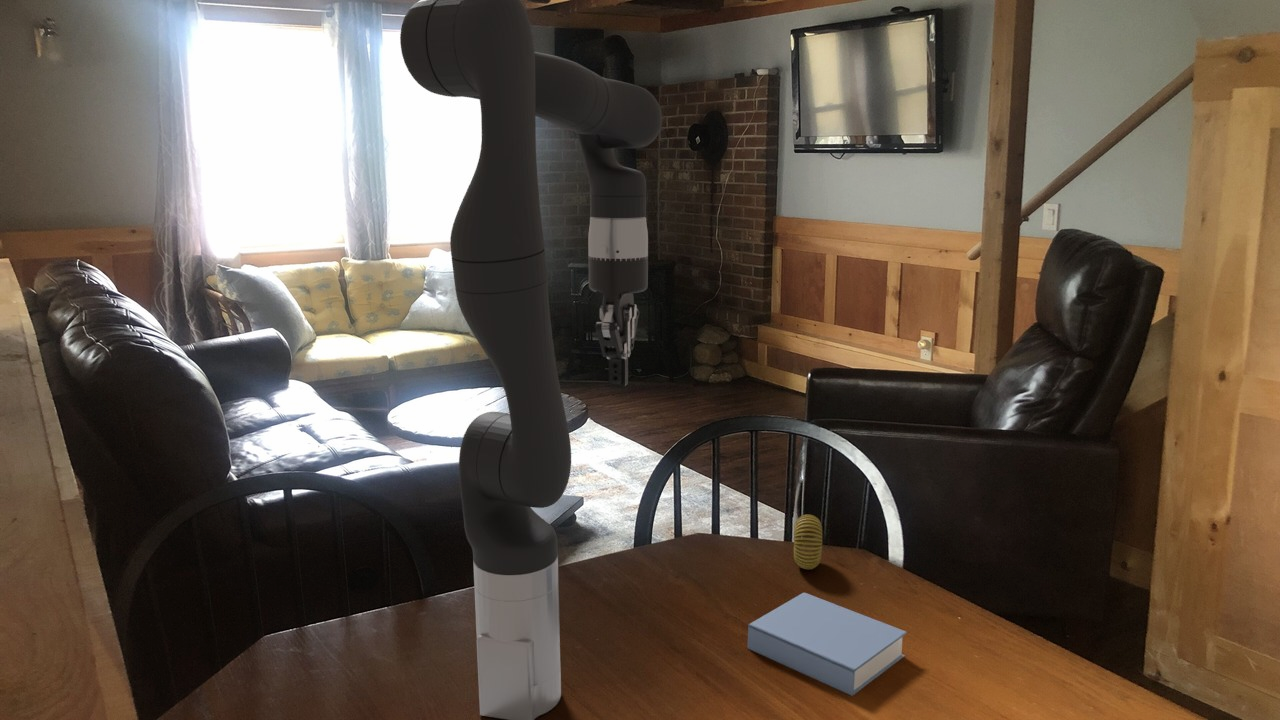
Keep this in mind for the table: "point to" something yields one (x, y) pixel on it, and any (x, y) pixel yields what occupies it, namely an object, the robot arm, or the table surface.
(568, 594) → the table surface
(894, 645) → the book
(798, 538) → the sculpture
